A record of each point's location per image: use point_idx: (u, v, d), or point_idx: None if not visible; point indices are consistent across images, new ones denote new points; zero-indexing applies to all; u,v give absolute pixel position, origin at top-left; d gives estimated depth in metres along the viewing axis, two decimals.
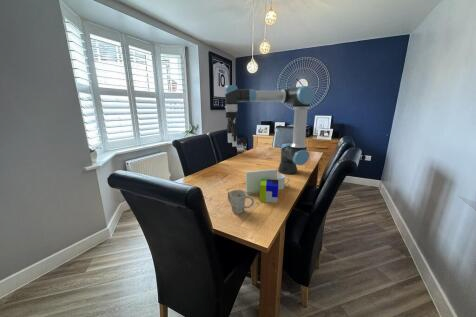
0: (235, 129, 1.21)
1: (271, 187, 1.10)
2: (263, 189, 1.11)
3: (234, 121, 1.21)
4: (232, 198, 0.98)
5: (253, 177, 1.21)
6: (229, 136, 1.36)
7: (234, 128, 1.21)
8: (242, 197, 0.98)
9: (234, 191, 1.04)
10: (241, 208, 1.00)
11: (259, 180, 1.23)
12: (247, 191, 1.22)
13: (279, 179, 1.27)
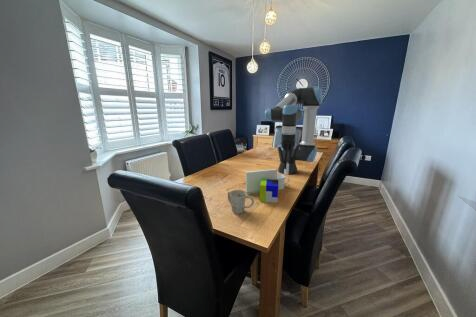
0: (280, 156, 1.13)
1: (271, 187, 1.10)
2: (263, 189, 1.11)
3: (278, 148, 1.11)
4: (232, 198, 0.98)
5: (253, 177, 1.21)
6: None
7: (279, 155, 1.13)
8: (242, 197, 0.98)
9: (234, 191, 1.04)
10: (241, 208, 1.00)
11: (259, 180, 1.23)
12: (247, 191, 1.22)
13: (279, 179, 1.27)
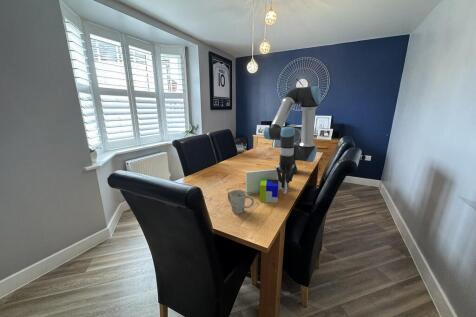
0: (278, 176, 1.16)
1: (271, 187, 1.10)
2: (263, 189, 1.11)
3: (276, 169, 1.14)
4: (232, 198, 0.98)
5: (253, 177, 1.21)
6: None
7: (278, 175, 1.16)
8: (242, 197, 0.98)
9: (234, 191, 1.04)
10: (241, 208, 1.00)
11: (259, 180, 1.23)
12: (247, 191, 1.22)
13: None
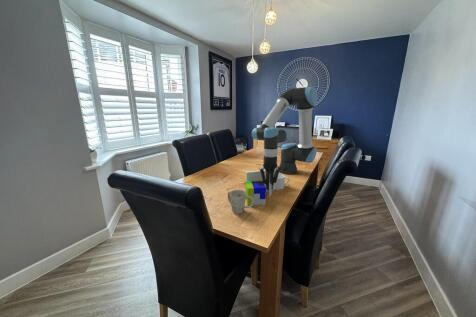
0: (262, 178, 1.13)
1: (259, 189, 1.07)
2: (250, 192, 1.07)
3: (260, 170, 1.11)
4: (232, 198, 0.98)
5: (253, 177, 1.21)
6: None
7: (262, 177, 1.13)
8: (242, 197, 0.98)
9: (234, 191, 1.04)
10: (241, 208, 1.00)
11: (259, 180, 1.23)
12: None
13: (279, 179, 1.27)
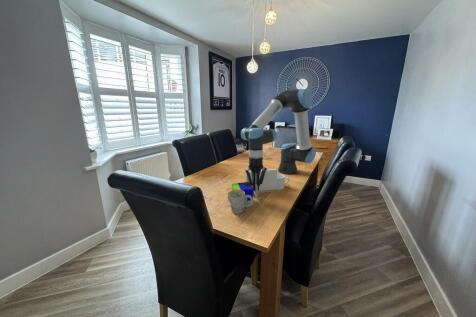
0: (248, 179, 1.12)
1: (246, 191, 1.06)
2: None
3: None
4: (231, 199, 0.98)
5: None
6: None
7: (248, 178, 1.12)
8: (242, 197, 0.97)
9: (232, 191, 1.03)
10: (241, 208, 1.00)
11: None
12: None
13: (279, 179, 1.27)
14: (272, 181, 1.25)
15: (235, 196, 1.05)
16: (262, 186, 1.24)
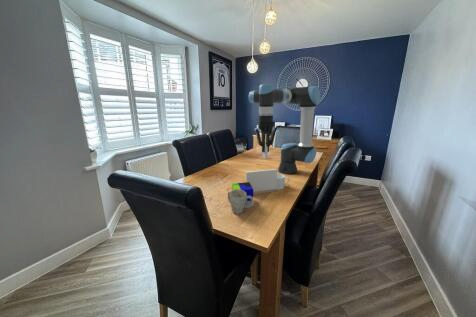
0: (258, 139, 1.08)
1: (246, 191, 1.05)
2: None
3: (255, 131, 1.06)
4: (233, 199, 0.98)
5: (253, 177, 1.21)
6: None
7: (257, 138, 1.08)
8: (243, 198, 0.97)
9: (234, 191, 1.03)
10: (241, 208, 1.00)
11: (259, 180, 1.23)
12: None
13: (279, 179, 1.27)
14: (272, 181, 1.25)
15: (236, 196, 1.05)
16: (262, 186, 1.24)
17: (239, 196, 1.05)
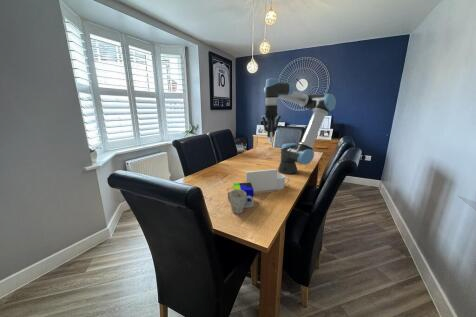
0: (264, 126, 1.27)
1: (246, 191, 1.05)
2: None
3: (262, 118, 1.25)
4: (233, 199, 0.98)
5: (253, 177, 1.21)
6: None
7: (263, 124, 1.27)
8: (243, 198, 0.97)
9: (234, 191, 1.03)
10: (241, 208, 1.00)
11: (259, 180, 1.23)
12: None
13: (279, 179, 1.27)
14: (272, 181, 1.25)
15: (236, 196, 1.04)
16: (262, 186, 1.24)
17: (239, 196, 1.04)
